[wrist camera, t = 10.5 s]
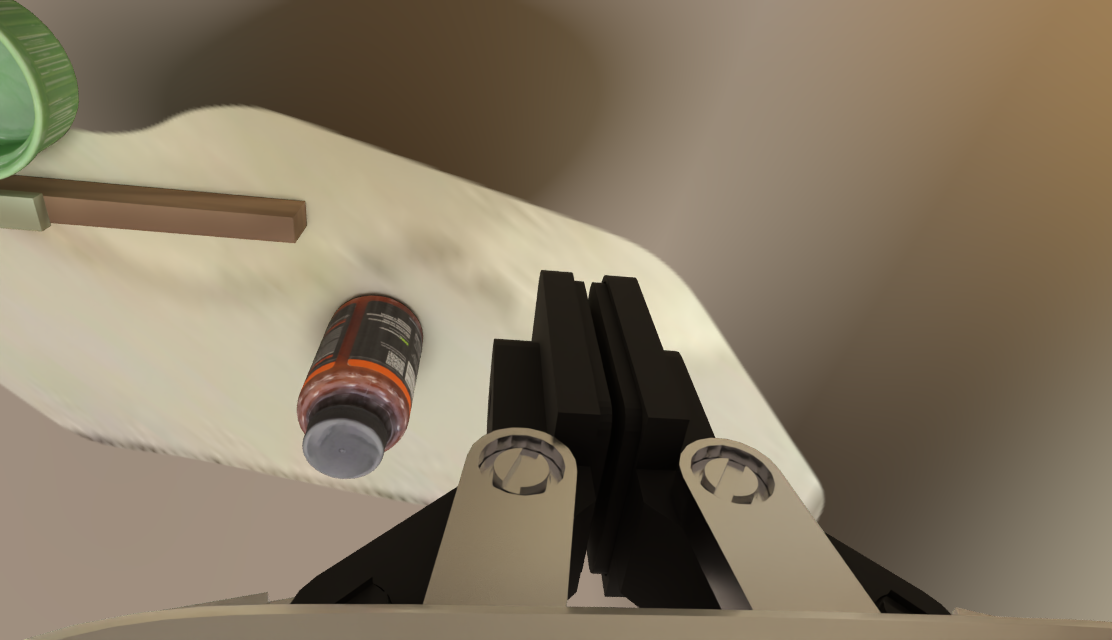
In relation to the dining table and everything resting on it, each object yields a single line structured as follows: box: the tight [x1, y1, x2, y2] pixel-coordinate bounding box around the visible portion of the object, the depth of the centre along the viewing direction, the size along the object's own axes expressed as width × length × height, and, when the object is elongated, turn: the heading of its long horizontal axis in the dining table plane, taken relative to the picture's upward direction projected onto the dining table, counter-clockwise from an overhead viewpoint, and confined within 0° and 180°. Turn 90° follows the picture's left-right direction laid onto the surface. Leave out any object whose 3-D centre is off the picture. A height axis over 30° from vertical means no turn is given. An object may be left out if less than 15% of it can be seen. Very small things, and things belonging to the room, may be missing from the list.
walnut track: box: [0, 175, 307, 243], centre depth 33 cm, size 14×20×3 cm
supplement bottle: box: [297, 296, 423, 479], centre depth 38 cm, size 6×6×11 cm
